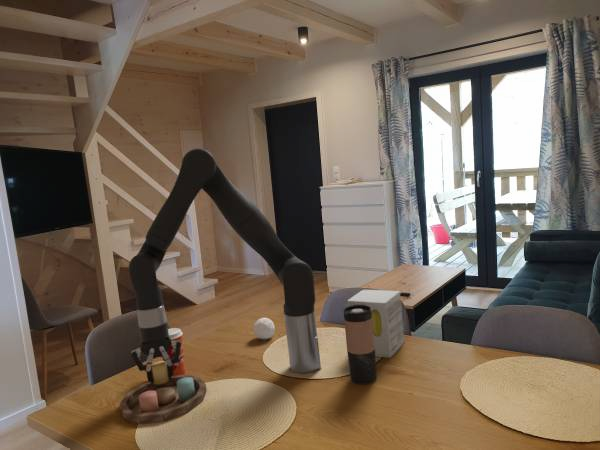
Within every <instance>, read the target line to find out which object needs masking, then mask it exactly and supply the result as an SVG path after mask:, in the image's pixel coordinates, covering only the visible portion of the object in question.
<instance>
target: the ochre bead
mask: <svg viewBox="0 0 600 450" xmlns="http://www.w3.org/2000/svg"><path fill="white" fill-rule="evenodd" d="M151 370H152V376H153V384H156V385H159V384H163V383H166V382H167V381H169V376H168V369H167V362H166V361H163V360H159V361H156V362H152V365H151Z"/></svg>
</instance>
